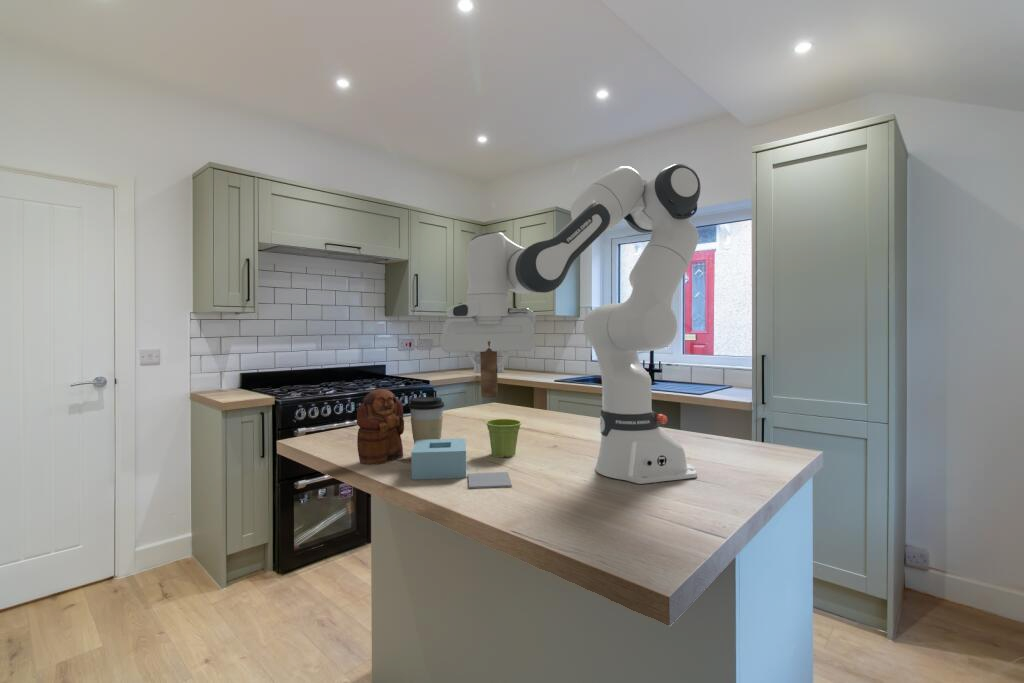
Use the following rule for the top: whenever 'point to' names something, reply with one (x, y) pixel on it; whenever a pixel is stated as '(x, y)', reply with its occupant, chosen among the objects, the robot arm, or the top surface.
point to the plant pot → (503, 436)
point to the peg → (489, 373)
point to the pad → (489, 480)
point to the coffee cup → (426, 417)
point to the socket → (439, 459)
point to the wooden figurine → (380, 427)
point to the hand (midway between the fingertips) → (488, 372)
